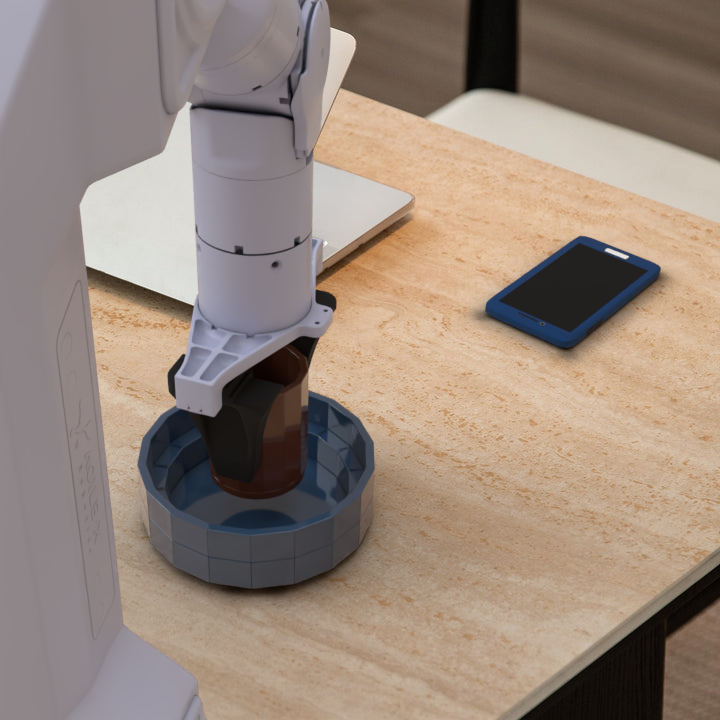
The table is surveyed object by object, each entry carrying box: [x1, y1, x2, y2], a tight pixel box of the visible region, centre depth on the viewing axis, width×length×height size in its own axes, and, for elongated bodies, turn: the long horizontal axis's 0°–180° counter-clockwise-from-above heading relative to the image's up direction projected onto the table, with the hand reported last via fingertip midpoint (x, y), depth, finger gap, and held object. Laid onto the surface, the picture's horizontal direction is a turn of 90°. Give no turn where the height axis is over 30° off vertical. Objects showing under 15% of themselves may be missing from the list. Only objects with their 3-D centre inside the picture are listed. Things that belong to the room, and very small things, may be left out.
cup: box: [209, 344, 310, 500], centre depth 68 cm, size 5×6×7 cm
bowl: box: [136, 389, 376, 590], centre depth 70 cm, size 13×13×4 cm
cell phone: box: [484, 235, 662, 349], centre depth 92 cm, size 7×14×1 cm, turn 141°
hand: (257, 441), depth 68 cm, fingers closed on cup, 5 cm apart
